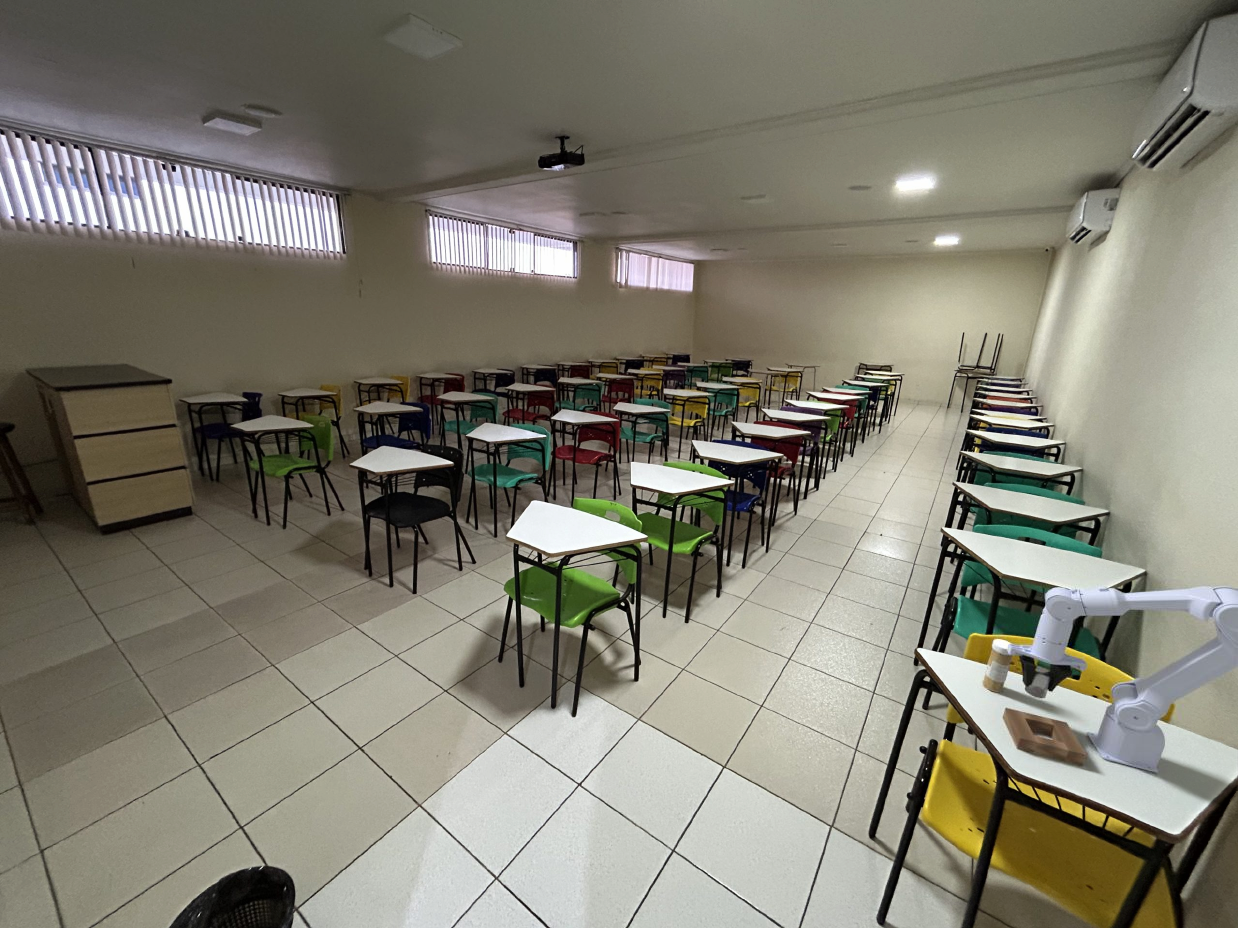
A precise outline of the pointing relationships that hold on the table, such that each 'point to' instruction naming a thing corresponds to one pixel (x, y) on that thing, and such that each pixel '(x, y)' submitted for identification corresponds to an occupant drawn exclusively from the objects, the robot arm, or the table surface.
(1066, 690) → the table surface
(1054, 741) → the socket block
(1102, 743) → the robot arm
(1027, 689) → the peg
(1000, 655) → the sprinkles bottle
